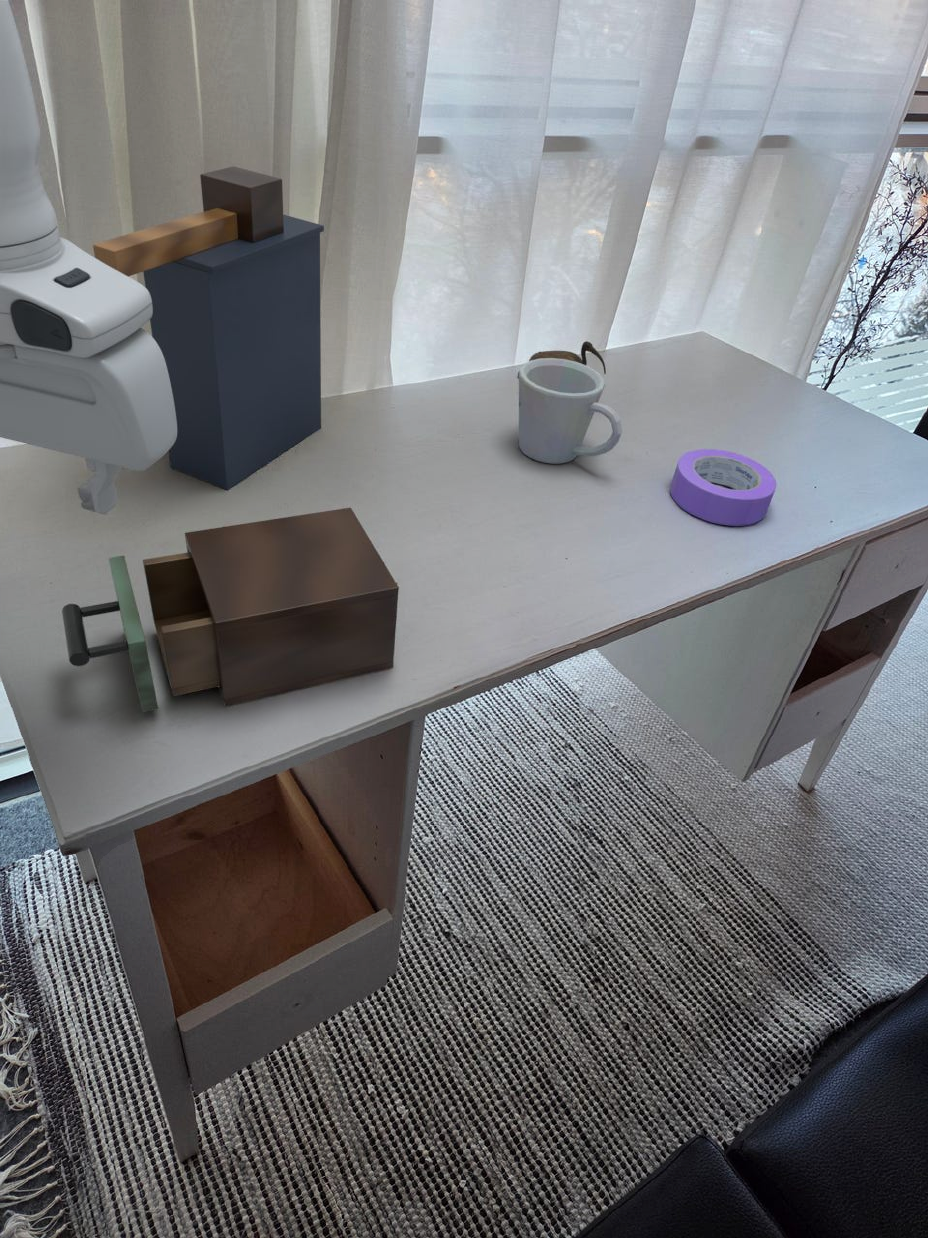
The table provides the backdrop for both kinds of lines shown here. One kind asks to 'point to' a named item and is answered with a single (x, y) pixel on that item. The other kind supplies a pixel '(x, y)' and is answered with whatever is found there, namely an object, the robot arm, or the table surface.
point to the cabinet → (295, 602)
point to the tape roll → (718, 502)
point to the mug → (560, 410)
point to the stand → (241, 350)
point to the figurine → (569, 355)
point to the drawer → (156, 627)
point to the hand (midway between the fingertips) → (35, 491)
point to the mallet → (204, 222)
